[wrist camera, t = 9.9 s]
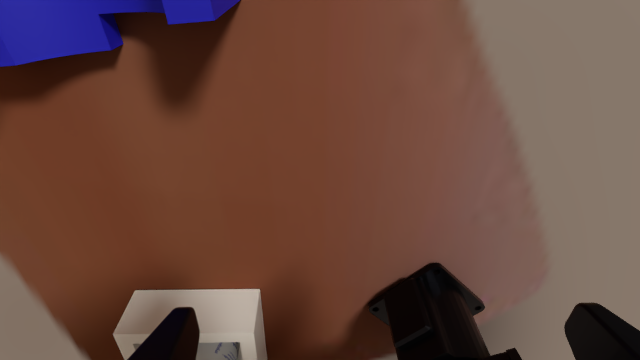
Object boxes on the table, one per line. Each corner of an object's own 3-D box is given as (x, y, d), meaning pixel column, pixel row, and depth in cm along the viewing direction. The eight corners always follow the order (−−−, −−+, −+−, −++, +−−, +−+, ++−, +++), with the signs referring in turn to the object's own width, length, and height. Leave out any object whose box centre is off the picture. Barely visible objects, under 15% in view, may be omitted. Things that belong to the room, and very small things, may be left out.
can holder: (259, 288, 27) (253, 332, 24) (267, 360, 32) (263, 404, 29) (135, 290, 27) (112, 334, 24) (161, 362, 31) (146, 406, 28)
